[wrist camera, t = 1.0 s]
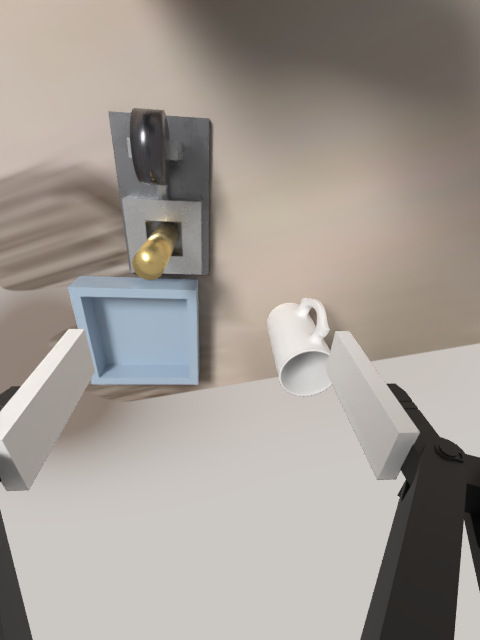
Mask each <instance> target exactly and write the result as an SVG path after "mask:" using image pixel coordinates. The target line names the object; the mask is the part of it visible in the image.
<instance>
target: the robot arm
mask: <svg viewBox="0 0 480 640" xmlns="http://www.w3.org/2000/svg"><path fill="white" fill-rule="evenodd" d="M326 372H327V374H328V377H329V379H330V381H331V383H332V385H333V387H334V389H335V391H336V393H337V395H338V398H339V400H340V402H341V404H342V406H343V408H344V410H345V413H346V414H347V417H348V419H349V421H350V423H351V425H352V427H353V429H354V431H355V434H356V436H357V438H358V440H359V442H360V444H361V446H362V449H363V451H364V453H365V455H366V457H367V459H368V461H369V463H370V465H371V468H372V470H373V472H374V474H375V476H376V478H377V480H390V479H396V478H397V476H398V474H399V472H400V470H401V471H402V473H403V474H404V476H405V478H406V481H405V482H404V484H403V486H402V488H401V490H400V492H399V493H398V496H399V497H400V499H399V502H398V506H397V510H396V513H395V517H394V521H393V524H392V528H391V531H390V535H389V538H388V542H387V546H386V549H385V553H384V556H383V560H382V564H381V567H380V571H379V574H378V578H377V582H376V585H375V589H374V592H373V596H372V600H371V603H370V607H369V610H368V614H367V618H366V621H365V625H364V628H363V632H362V636H361V640H454V631H455V619H456V607H457V595H458V583H459V571H460V559H461V547H462V534H463V522H464V521H465V526H466V530H467V535H468V540H469V544H470V549H471V553H472V558H473V563H474V567H475V572H476V576H477V581H478V586H479V590H480V458H479V457H475V456H471V455H467V454H465V453H464V452H463V450H462V449H461V448H460V447H458V446H457V445H456V444H454V443H453V442H451V441H449V440H447V439H444V438H441V437H439V435H438V434H437V433H436V432H435V430H434V429H433V427H432V426H431V425H430V424H429V422H428V421H427V420H426V418H425V417H424V416H423V414H422V413H421V412H420V410H418V408H417V406H416V405H415V404H414V403H413V402H412V400H411V398H410V397H409V396H408V395H407V393H406V392H405V391H404V390H403V389H401V388H400V387H399V386H397V385H396V384H386V383H385V382H384V380H383V379H382V377H381V376H380V375H379V373H378V372H377V370H376V369H375V367H374V366H373V365H372V363H371V362H370V360H369V359H368V357H367V356H366V355H365V353H364V352H363V350H362V349H361V347H360V346H359V345H358V343H357V342H356V340H355V339H354V337H353V336H352V335H351V333H350V332H349V331H335V335H334V339H333V343H332V347H331V351H330V356H329V360H328V364H327V368H326ZM94 373H95V369H94V365H93V361H92V357H91V353H90V349H89V345H88V341H87V337H86V333H85V329H68V331H67V332H66V333H65V334H64V335H63V337H62V338H61V339H60V340H59V341H58V343H57V344H56V345H55V346H54V348H53V349H52V350H51V351H50V353H49V354H48V355H47V356H46V357H45V358H44V360H43V361H42V362H41V363H40V365H39V366H38V367H37V368H36V369H35V370H34V372H33V373H32V374H31V375H30V377H29V378H28V379H27V380H26V381H25V382H24V384H23V385H22V386H17V387H16V386H14V387H13V386H12V387H11V388H9V389H8V390H6V391H5V392H4V393H2V394H0V482H2V484H3V486H4V487H5V489H6V490H7V491H22V490H29V489H30V487H31V486H32V484H33V482H34V480H35V478H36V477H37V475H38V473H39V471H40V469H41V467H42V466H43V464H44V462H45V460H46V459H47V457H48V455H49V453H50V451H51V450H52V448H53V446H54V444H55V443H56V441H57V439H58V437H59V435H60V433H61V431H62V430H63V428H64V426H65V425H66V423H67V421H68V419H69V417H70V415H71V414H72V412H73V410H74V408H75V407H76V405H77V403H78V401H79V399H80V398H81V396H82V394H83V392H84V391H85V389H86V387H87V385H88V383H89V382H90V380H91V378H92V376H93V374H94ZM0 640H33V639H32V635H31V631H30V627H29V623H28V619H27V615H26V612H25V607H24V603H23V599H22V595H21V591H20V588H19V583H18V579H17V575H16V571H15V567H14V563H13V560H12V555H11V551H10V547H9V543H8V540H7V535H6V532H5V527H4V523H3V519H2V515H1V511H0Z"/></svg>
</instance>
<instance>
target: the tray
mask: <svg viewBox="0 0 480 640" xmlns="http://www.w3.org/2000/svg"><path fill="white" fill-rule="evenodd" d="M68 290H69V294H70V298H71V302H72V306H73V310H74V314H75V318H76V322H77V326H78V329H85V333H86V337H87V341H88V345H89V349H90V353H91V357H92V361H93V365H94V369H95V373H94V374H93V376H92V378H91V382H92V384H198V381H199V370H200V365H199V300H198V279H167V278H157V279H154V280H146V279H143V278H133V277H98V276H79V277H78V278H77V279H76V280H75V281H74V282H73V283H72V284H71V285H69V286H68Z"/></svg>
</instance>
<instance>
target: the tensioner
mask: <svg viewBox="0 0 480 640" xmlns="http://www.w3.org/2000/svg"><path fill="white" fill-rule="evenodd" d="M108 112H109V111H108ZM109 119H110V127H111V134H112V142H113V149H114V156H115V164H116V171H117V179H118V186H119V194H120V201H121V208H122V216H123V223H124V231H125V238H126V246H127V253H128V261H129V268H130V273H135V271H134V269H133V266H132V260H133V257H134V255H135V254H136V253H137V252H138V250H139V249H140V248H141V247H142V246H143V244H144V243H145V242H146V241H147V239H148V238H149V237H150V236H151V234H152V233H153V232H154V231H155V229H156V228H157V227H158V226H159V225H160V224H162V223H170V224H172V225H174V226H175V227H176V229H177V230H178V233H179V239H178V241H177V243H176V246H175V248H174V250H173V252H172V254H171V256H170V259H169V261H168V263H167V265H166V267H165V269H164V272H163V274H192V275H209V119H207V118H193V117H179V116H166V114H165V112H164V110H152V109H138V108H134V109H133V110H132V112H131V113H123V112H109Z"/></svg>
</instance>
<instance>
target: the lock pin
mask: <svg viewBox="0 0 480 640" xmlns="http://www.w3.org/2000/svg"><path fill="white" fill-rule="evenodd" d="M178 239H179V233H178V230H177V229H176V227H175V226H174V225H172V224H170V223H162V224H160V225H159V226H158V227H157V228H156V229H155V231H154V232H153V233H152V234H151V236H150V237H149V238H148V239H147V241H146V242H145V243H144V244H143V246H142V247H141V248H140V249H139V250H138V252H137V253H136V254H135V255H134V257H133V260H132V266H133V269H134V271H135V273H136V274H137V275H138V276H140V277H141V278H143V279H146V280H154V279H157V278H159V277H160V276H161V275H162V274H163V272H164V269H165V267H166V265H167V263H168V261H169V259H170V256H171V254H172V252H173V250H174V248H175V246H176V243H177V241H178Z"/></svg>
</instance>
